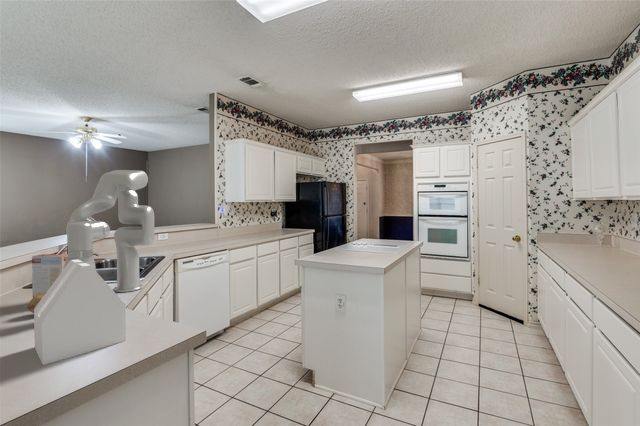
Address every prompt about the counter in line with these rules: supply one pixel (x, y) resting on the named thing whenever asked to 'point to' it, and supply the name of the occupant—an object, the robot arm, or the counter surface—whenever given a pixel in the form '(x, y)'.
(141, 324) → the counter surface
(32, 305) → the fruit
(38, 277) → the cracker box
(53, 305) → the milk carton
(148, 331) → the counter surface
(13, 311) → the counter surface
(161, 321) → the counter surface
